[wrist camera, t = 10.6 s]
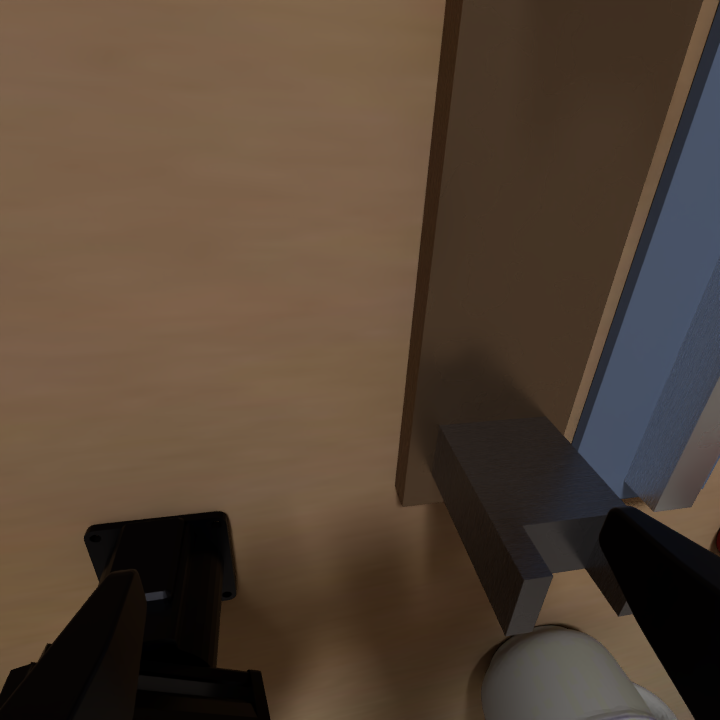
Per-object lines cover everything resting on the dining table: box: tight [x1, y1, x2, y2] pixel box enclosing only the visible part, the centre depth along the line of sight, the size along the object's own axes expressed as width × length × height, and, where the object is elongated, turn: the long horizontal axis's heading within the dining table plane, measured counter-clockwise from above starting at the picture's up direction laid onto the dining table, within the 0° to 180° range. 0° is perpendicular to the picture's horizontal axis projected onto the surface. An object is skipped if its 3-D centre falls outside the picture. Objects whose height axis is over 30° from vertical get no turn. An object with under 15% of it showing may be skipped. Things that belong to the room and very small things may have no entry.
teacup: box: [481, 625, 678, 720], centre depth 33 cm, size 14×11×8 cm
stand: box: [395, 0, 703, 636], centre depth 14 cm, size 29×8×10 cm, turn 178°
